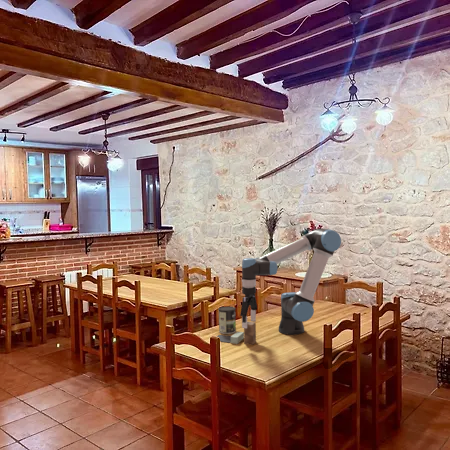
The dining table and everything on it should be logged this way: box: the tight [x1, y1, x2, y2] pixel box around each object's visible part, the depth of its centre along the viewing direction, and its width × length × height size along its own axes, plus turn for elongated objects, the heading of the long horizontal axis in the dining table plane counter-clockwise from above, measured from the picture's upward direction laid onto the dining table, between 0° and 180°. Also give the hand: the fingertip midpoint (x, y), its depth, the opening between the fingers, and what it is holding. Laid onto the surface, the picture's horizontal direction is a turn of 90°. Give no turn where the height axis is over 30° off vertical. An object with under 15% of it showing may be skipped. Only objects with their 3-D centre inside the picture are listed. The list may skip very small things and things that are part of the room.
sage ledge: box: [230, 331, 244, 345], centre depth 244 cm, size 4×10×4 cm, turn 157°
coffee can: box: [218, 305, 237, 335], centre depth 261 cm, size 10×10×14 cm
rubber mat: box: [216, 334, 232, 344], centre depth 247 cm, size 11×10×1 cm
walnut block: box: [243, 321, 257, 346], centre depth 240 cm, size 5×5×11 cm
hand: (249, 324), depth 239 cm, fingers open, 13 cm apart
